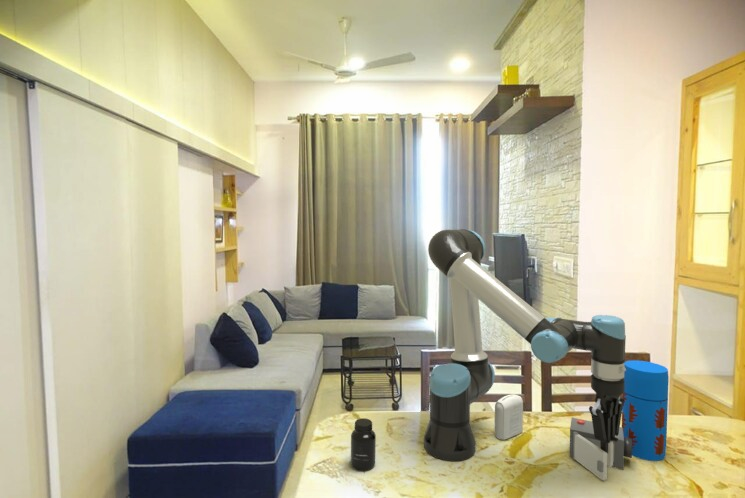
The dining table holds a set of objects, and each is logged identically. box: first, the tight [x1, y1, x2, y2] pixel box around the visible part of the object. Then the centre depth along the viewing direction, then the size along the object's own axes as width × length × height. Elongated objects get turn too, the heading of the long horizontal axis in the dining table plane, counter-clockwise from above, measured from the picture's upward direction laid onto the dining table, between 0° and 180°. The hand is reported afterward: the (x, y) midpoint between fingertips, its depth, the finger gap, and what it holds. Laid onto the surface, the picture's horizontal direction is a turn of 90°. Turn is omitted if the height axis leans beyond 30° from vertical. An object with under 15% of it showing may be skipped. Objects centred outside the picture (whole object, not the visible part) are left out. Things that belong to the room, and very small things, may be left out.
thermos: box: [621, 359, 670, 462], centre depth 116 cm, size 11×11×25 cm
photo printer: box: [494, 394, 524, 441], centre depth 126 cm, size 10×4×12 cm, turn 123°
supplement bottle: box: [350, 417, 377, 472], centre depth 110 cm, size 7×7×12 cm
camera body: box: [569, 417, 633, 471], centre depth 113 cm, size 15×8×9 cm, turn 61°
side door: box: [572, 432, 608, 481], centre depth 107 cm, size 11×2×8 cm, turn 14°
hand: (606, 463), depth 105 cm, fingers closed
